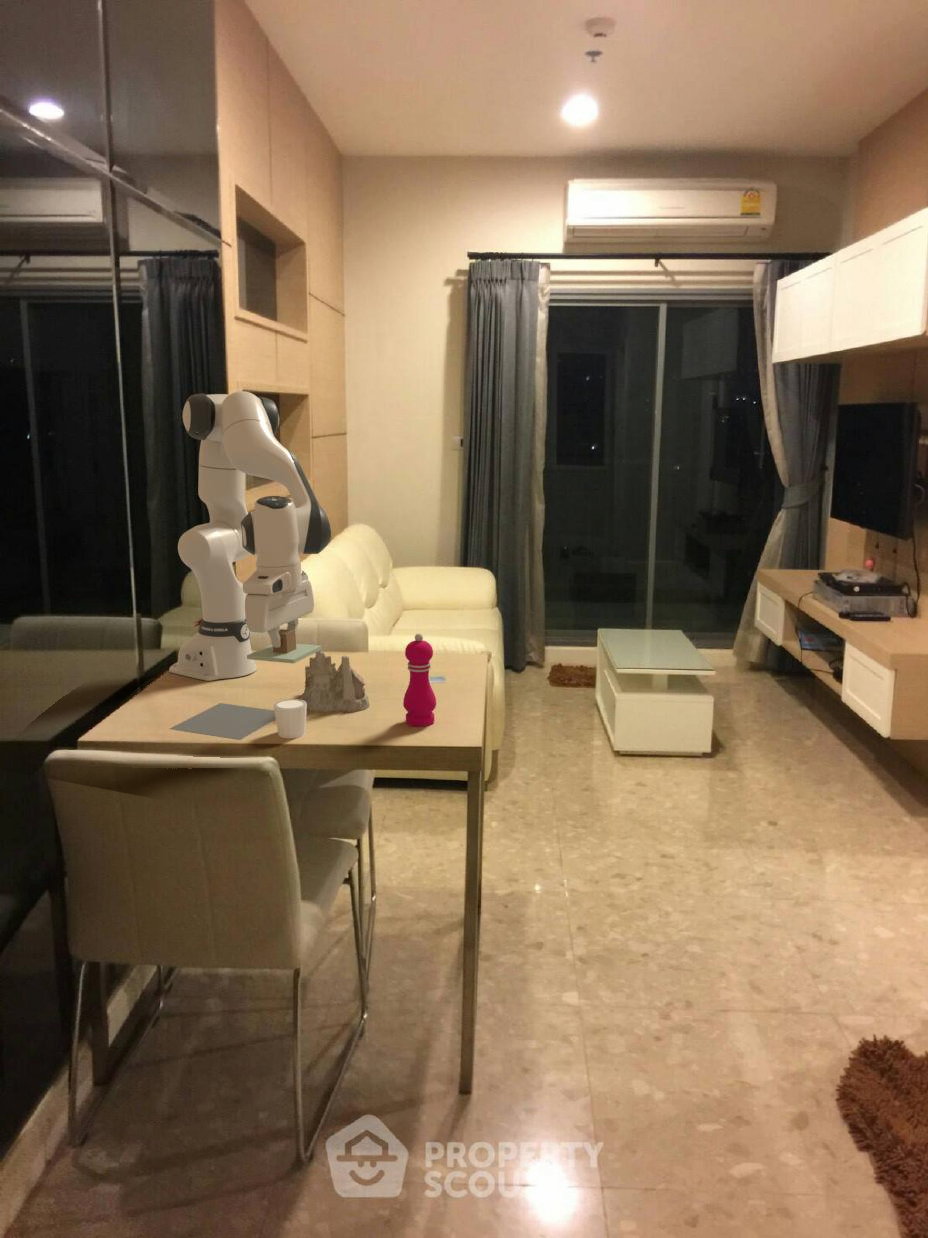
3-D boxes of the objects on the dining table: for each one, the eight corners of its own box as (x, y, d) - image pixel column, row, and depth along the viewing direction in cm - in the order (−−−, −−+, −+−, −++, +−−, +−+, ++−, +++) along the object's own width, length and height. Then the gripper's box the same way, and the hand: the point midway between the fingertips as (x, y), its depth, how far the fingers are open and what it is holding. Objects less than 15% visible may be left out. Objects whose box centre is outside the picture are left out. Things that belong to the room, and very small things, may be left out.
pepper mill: (410, 729, 197) (408, 639, 193) (399, 719, 204) (397, 631, 199) (441, 724, 200) (440, 635, 195) (429, 714, 207) (428, 628, 202)
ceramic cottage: (367, 712, 208) (363, 647, 205) (294, 715, 208) (289, 650, 205) (374, 694, 223) (370, 634, 220) (306, 697, 223) (302, 636, 221)
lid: (247, 659, 188) (245, 636, 186) (277, 645, 197) (275, 623, 196) (293, 663, 184) (292, 640, 182) (321, 649, 193) (320, 627, 192)
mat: (169, 730, 197) (169, 728, 197) (220, 704, 214) (220, 702, 214) (240, 741, 191) (240, 739, 191) (287, 714, 207) (287, 712, 207)
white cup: (277, 730, 198) (275, 699, 196) (309, 728, 198) (308, 698, 196) (273, 741, 191) (271, 709, 189) (306, 740, 191) (305, 708, 190)
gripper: (293, 568, 197) (297, 630, 201) (237, 586, 179) (242, 655, 182) (319, 569, 195) (323, 632, 198) (264, 588, 177) (270, 657, 180)
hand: (284, 643), depth 190 cm, fingers closed on lid, 3 cm apart
